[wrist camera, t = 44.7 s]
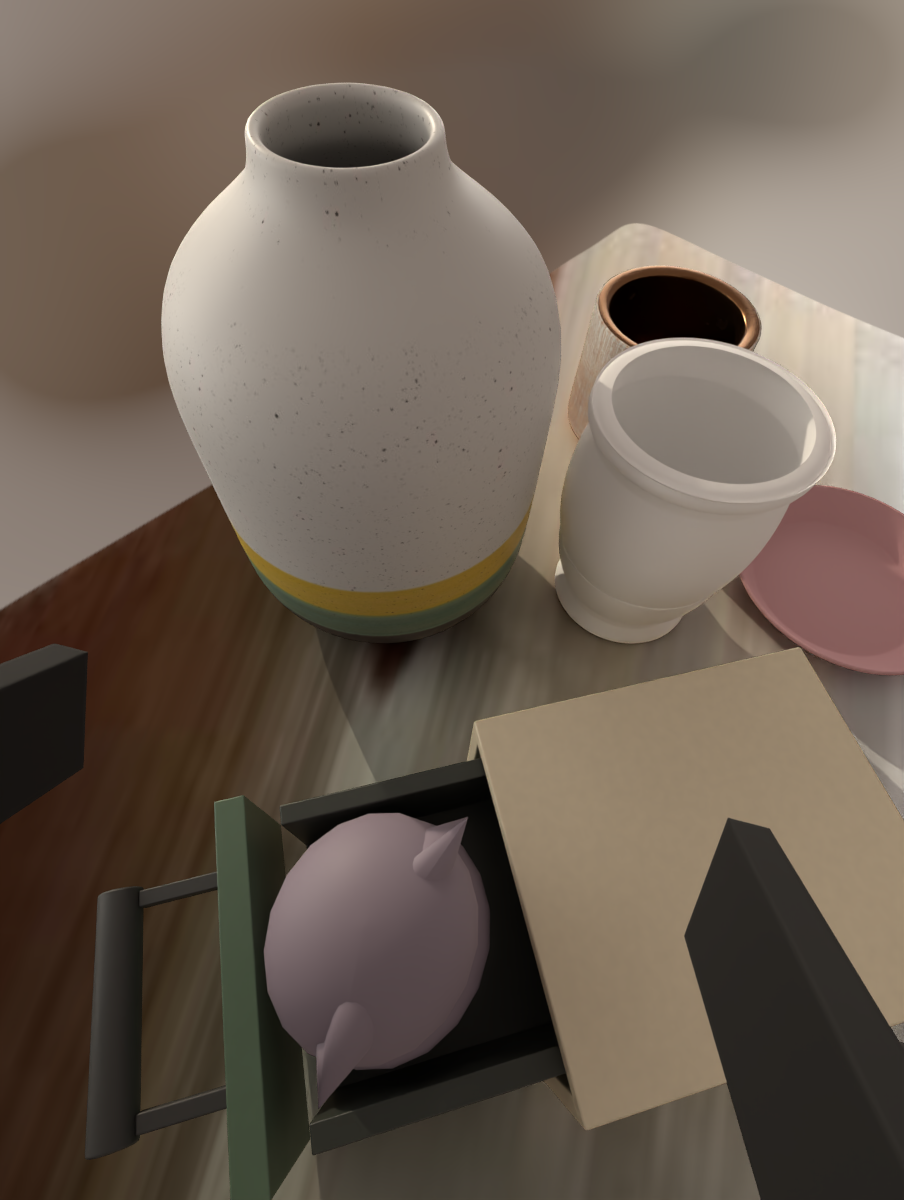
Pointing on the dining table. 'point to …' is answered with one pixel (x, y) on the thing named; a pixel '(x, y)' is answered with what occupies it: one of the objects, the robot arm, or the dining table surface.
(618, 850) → the cabinet
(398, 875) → the cat figurine
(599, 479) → the jar
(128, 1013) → the drawer
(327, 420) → the vase
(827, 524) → the plate
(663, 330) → the planter
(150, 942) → the dining table surface
